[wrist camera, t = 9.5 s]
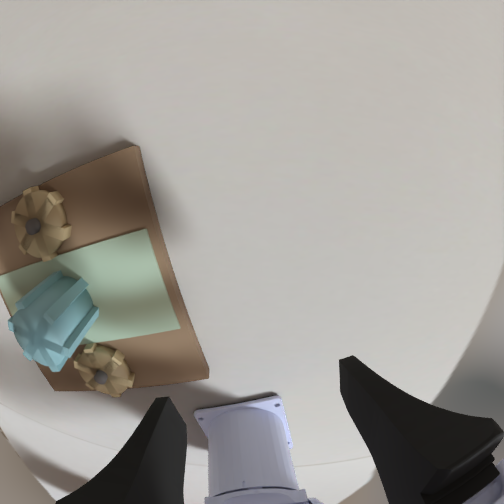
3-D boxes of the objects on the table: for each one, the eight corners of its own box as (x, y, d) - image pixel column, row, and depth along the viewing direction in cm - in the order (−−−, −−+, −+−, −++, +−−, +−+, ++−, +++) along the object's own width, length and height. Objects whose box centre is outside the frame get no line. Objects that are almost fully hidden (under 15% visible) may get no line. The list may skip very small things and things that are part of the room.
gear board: (209, 368, 21) (208, 392, 18) (59, 383, 21) (48, 401, 18) (139, 146, 16) (124, 144, 13) (-15, 218, 15) (-36, 226, 13)
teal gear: (107, 326, 18) (81, 370, 13) (63, 333, 18) (34, 372, 13) (80, 263, 16) (42, 296, 11) (37, 277, 16) (-2, 308, 11)
